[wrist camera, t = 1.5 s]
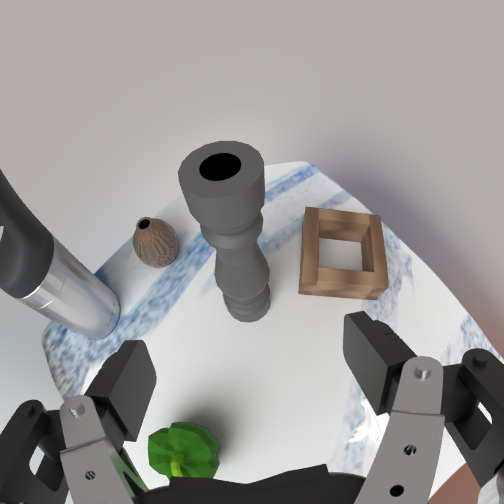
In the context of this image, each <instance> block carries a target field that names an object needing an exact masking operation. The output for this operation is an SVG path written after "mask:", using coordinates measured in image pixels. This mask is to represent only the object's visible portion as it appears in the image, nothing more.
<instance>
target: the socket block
mask: <svg viewBox="0 0 504 504" xmlns="http://www.w3.org/2000/svg"><path fill="white" fill-rule="evenodd" d="M319 238H326V239H335V240H345V241H354V242H361V250H362V264H363V271H354V270H344V269H333V268H322V267H318V262H319ZM388 287H389V286H388V274H387V264H386V255H385V246H384V239H383V232H382V225H381V219H380V216H377V215H370V214H363V213H355V212H347V211H339V210H330V209H321V208H312V207H306V209H305V215H304V220H303V226H302V247H301V264H300V280H299V293H298V294H305V295H316V296H328V297H340V298H354V299H368V300H376V299H377V298H378V297H379V296H380V295H381V294H382V293H383V292H384V291H385V290H386V289H387V288H388Z"/></svg>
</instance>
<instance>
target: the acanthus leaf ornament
mask: <svg viewBox="0 0 504 504" xmlns="http://www.w3.org/2000/svg"><path fill="white" fill-rule="evenodd" d="M361 404H362V406H364V407H365V417H364V419H363V420H362V421H361V422H360V423H359V424H358V425H357V426H356V427H355V429H356V431H355V432H354V436H353V437H351V438H350V439H349V441H348V442H354V441H359V440H361V439H363V438H364V437H365V436H366V435H367V434H368V433H369V438H370V439H371V440H372V441H377V440H378V438H379V440H380V442H381V441H382V438H383V436H384V433H385V430H386V427H387V424H388V421H389V418H390V417H389V415H388V413H385V414H382V415H379V416H376V414H375V412H374V411H373V409H372V407H371V405H370V403H369V401H368V400H367V398H366V397H365V398H363V399H362V401H361Z"/></svg>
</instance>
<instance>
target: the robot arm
mask: <svg viewBox="0 0 504 504" xmlns="http://www.w3.org/2000/svg"><path fill="white" fill-rule="evenodd" d="M0 226H4V229H3V234H2V237H1V241H0V288H1V289H2V290H3V291H5V292H6V293H8V294H9V295H11V296H12V297H14V298H15V299H17V300H19V301H20V302H22V303H23V304H25V305H27V306H28V307H30V308H32V309H34V310H35V311H37V312H39V313H40V314H42V315H44V316H45V317H47V318H49V319H51V320H53V321H54V322H56V323H58V324H60V325H62V326H64V327H66V328H68V329H70V330H72V331H73V332H75V333H77V334H79V335H82V336H84V337H86V338H88V339H91V340H98V339H102V338H104V337H106V336H107V335H108V334H110V333H111V331H112V330H113V329H114V327H115V326H116V324H117V321H118V319H119V314H120V306H119V301H118V299H117V296H116V295H115V293H114V292H113V291H111V290H110V289H109V288H108V287H107V286H106V285H105V284H103V283H102V282H101V281H100V280H99V279H98V278H97V277H96V276H95V275H94V274H92V273H91V272H90V271H89V270H88V269H87V268H86V267H85V266H84V265H83V264H82V263H80V262H79V261H78V260H77V259H76V258H75V257H74V256H73V255H72V254H71V253H70V252H69V251H68V250H67V249H66V248H65V247H64V246H63V245H62V244H61V243H60V242H59V241H58V240H57V239H56V238H55V237H54V236H53V235H52V234H51V233H50V232H49V231H48V230H47V229H46V227H44V225H42V223H41V222H40V221H39V220H38V219H37V218H36V217H35V216H34V215H33V214H32V212H31V211H30V210H29V209H28V208H27V207H26V205H25V204H24V203H23V202H22V200H21V199H20V198H19V196H18V195H17V194H16V192H15V191H14V190H13V188H12V187H11V185H10V184H9V182H8V180H7V179H6V177H5V176H4V174H3V173H2V171H1V169H0ZM343 353H344V357H345V360H346V362H347V364H348V366H349V368H350V369H351V371H352V373H353V375H354V376H355V378H356V380H357V382H358V384H359V385H360V387H361V389H362V391H363V392H364V394H365V396H366V398H367V400H368V401H369V403H370V405H371V407H372V409H373V411H374V412H375V414H376V416H379V415H382V414H385V413H388V415H389V417H390V418H389V421H388V424H387V427H386V430H385V433H384V436H383V438H382V441H381V444H380V446H379V449H378V452H377V454H376V457H375V459H374V462H373V464H372V466H371V469H370V471H369V473H368V476H367V478H366V477H363V476H359V475H355V474H349V473H339V472H328V469H327V466H326V464H322V465H318V466H313V467H308V468H303V469H298V470H292V471H287V472H284V473H281V474H278V475H275V476H272V477H269V478H266V479H263V480H260V481H256V482H253V483H249V484H242V483H235V482H229V481H223V480H217V479H212V478H207V477H178V476H171V477H170V483H169V485H168V486H162V487H158V488H155V489H152V490H149V489H148V488H147V486H146V485H145V484H144V482H143V480H142V479H141V477H140V475H139V474H138V472H137V470H136V468H135V467H134V465H133V463H132V461H131V459H130V458H129V456H128V454H127V452H126V450H125V448H124V447H123V443H124V441H132V442H136V441H137V437H138V434H139V431H140V428H141V425H142V422H143V419H144V416H145V413H146V411H147V408H148V405H149V402H150V399H151V396H152V393H153V390H154V388H155V385H156V372H155V369H154V366H153V363H152V361H151V358H150V355H149V353H148V350H147V347H146V344H145V342H144V341H143V340H126V341H124V342H123V344H122V345H121V347H120V348H119V350H118V351H117V352H115V353H114V354H112V355H111V356H110V357H109V358H107V359H106V361H105V362H104V364H103V365H102V368H101V369H100V370H99V372H98V375H96V376H95V378H94V379H93V381H92V383H91V384H90V386H89V387H88V389H87V391H86V392H85V394H84V395H78V396H74V397H71V398H69V399H68V400H66V401H65V402H64V403H63V404H62V406H61V408H60V410H50V411H47V410H46V409H45V408H44V406H43V405H42V403H41V402H40V401H38V400H29V401H26V402H24V403H22V404H21V405H20V406H19V407H18V409H17V410H16V412H15V413H14V415H13V416H12V417H11V419H10V420H9V422H8V423H7V425H6V427H5V428H4V430H3V431H2V433H1V435H0V504H65V501H66V497H67V494H68V491H69V490H70V493H71V497H72V499H73V502H74V504H428V503H427V502H428V499H429V495H430V492H431V488H432V485H433V481H434V477H435V473H436V468H437V464H438V459H439V454H440V448H441V442H442V436H443V429H444V426H445V427H446V429H447V431H448V432H449V434H450V435H451V437H452V439H453V440H454V442H455V444H456V445H457V447H458V449H459V450H460V452H461V454H462V455H463V457H464V459H465V461H466V462H467V464H468V466H469V467H470V469H471V471H472V473H473V475H474V476H475V478H476V480H477V482H478V484H479V486H480V487H481V491H480V493H479V497H478V504H504V364H503V363H502V362H501V361H500V360H498V359H497V358H496V357H495V356H494V355H493V354H492V353H491V352H489V351H487V350H484V349H479V348H476V349H471V350H468V351H467V352H465V354H464V355H463V358H462V361H461V363H460V364H455V365H448V366H442V365H441V364H440V363H439V362H438V361H437V360H435V359H433V358H431V357H426V356H419V357H418V356H417V355H416V354H415V353H414V352H413V351H412V350H411V349H410V348H409V347H408V346H407V345H406V344H405V342H404V341H403V340H402V339H400V338H399V336H398V335H397V334H396V333H394V331H393V330H392V329H391V328H390V327H389V326H388V325H387V324H385V323H383V322H381V321H379V320H374V321H373V320H372V319H371V318H370V317H369V316H368V315H367V314H366V312H364V311H360V312H355V313H351V314H346V315H345V317H344V335H343ZM480 402H481V403H482V405H483V406H484V407H485V408H486V410H487V411H488V412H489V413H490V415H491V418H492V425H491V423H490V422H489V421H488V419H487V418H486V417H485V415H484V414H483V413H482V411H481V410H480V409H479V408H478V405H479V403H480ZM37 446H38V447H39V448H40V449H41V450H42V451H43V452H44V453H45V455H44V457H43V459H42V461H41V464H40V466H39V468H38V471H37V473H36V475H34V474H33V473H32V472H31V470H30V467H29V462H30V459H31V457H32V455H33V453H34V451H35V449H36V447H37Z"/></svg>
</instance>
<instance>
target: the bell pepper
mask: <svg viewBox="0 0 504 504" xmlns="http://www.w3.org/2000/svg"><path fill="white" fill-rule="evenodd" d="M219 450H220V448H219V445H218V442H217V439H216V438H215V437H214V436H213V435H212V434H211V433H210V432H209V431H208V430H207V429H206V428H204V427H201V426H198V425H195V424H192V423H184V422H176V423H172V424H171V427H170V428H162V429H160V430H158V431H156V432H155V433H153V434H151V435H150V436H149V439H148V456H149V465H150V466H151V467H152V468H153V469H154V470H156V471H157V472H158V473H159V474H163V475H167V477H168V479H169V481H170V477H171V476H178V477H207V478H212V479H213V477H214V475H215V473H216V471H217V469H218V467H219V464H220V463H219V459H218V456H217V453H218V452H219Z"/></svg>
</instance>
